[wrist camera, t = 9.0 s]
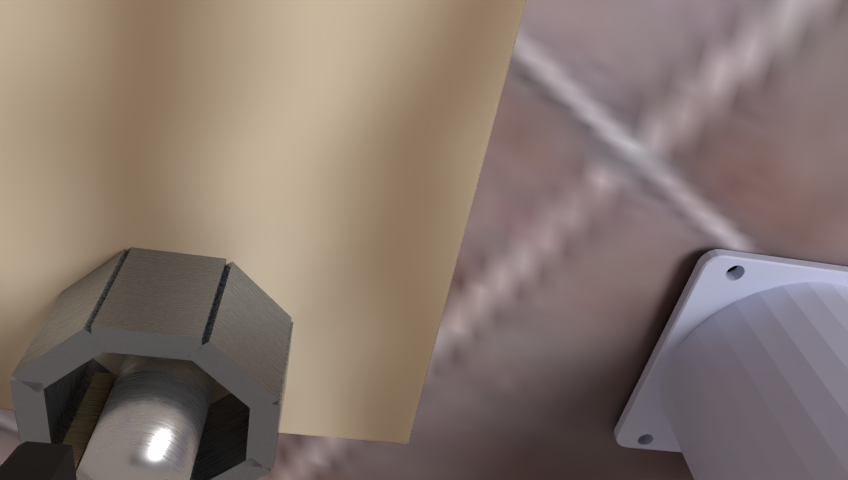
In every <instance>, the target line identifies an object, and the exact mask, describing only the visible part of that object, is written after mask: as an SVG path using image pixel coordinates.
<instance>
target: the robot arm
mask: <svg viewBox="0 0 848 480" xmlns="http://www.w3.org/2000/svg"><path fill="white" fill-rule="evenodd" d="M733 266H737V268H736V269H735V270H733V271H731V272H727V271H728V269H729V268H731V267H733ZM614 435H615V438H616V440H617V443H618V444H619V445H620V446H623V447H628V448H639V449H650V450H661V451H673V452H682V454H683V456H684V458H685V460H686V463H687V465H688V467H689V469H690V472H691V474H692V476H693V478H694V480H848V267H847V266H839V265H832V264H825V263H818V262H810V261H803V260H796V259H788V258H781V257H774V256H767V255H759V254H752V253H745V252H737V251H730V250H723V249H715V250H712V251H709V252H707V253H705V254H704V255H702V256H701V258H700V259H699V260H698V262H697V264H696V266H695V268H694V270H693V272H692V274H691V276H690V278H689V280H688V282H687V284H686V286H685V288H684V290H683V292H682V294H681V296H680V298H679V300H678V302H677V304H676V306H675V308H674V310H673V312H672V314H671V316H670V318H669V320H668V322H667V324H666V326H665V328H664V330H663V332H662V334H661V336H660V338H659V340H658V342H657V344H656V346H655V348H654V350H653V353H652V355H651V357H650V359H649V361H648V363H647V365H646V367H645V369H644V371H643V373H642V375H641V377H640V379H639V381H638V383H637V385H636V387H635V389H634V391H633V393H632V395H631V397H630V399H629V401H628V403H627V405H626V407H625V409H624V411H623V413H622V415H621V417H620V419H619V421H618V423H617V425H616V427H615V430H614ZM0 480H77V478H76V470H75V462H74V453H73V445H67V444H55V443H42V442H30V441H25V442H24V443H22V444H21V445H19V446H18V447H17V448H16V449H15V450H14V451H13V453H12V454H11V455H10V456H9V457H8V458H7V459H6V461H5V462H4V463H3V464H2V465H1V466H0Z"/></svg>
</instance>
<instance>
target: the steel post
mask: <svg viewBox="0 0 848 480" xmlns="http://www.w3.org/2000/svg"><path fill="white" fill-rule="evenodd" d="M215 383H216V380H215V379H214V378H213V377H211V376H210V375H209V374H208V373H206V372H205V371H204V370H203V369H202V368H200V367H199V366H198V365H197V364H195V363H194V362H193V361H190V360H180V359H170V358H160V357H150V356H140V355H130V354H126V357H125V359H124V361H123V364H122V366H121V368H120V371H119V373H118V375H117V376H116V374H110V373H99V372H96V373H95V375H94V377H93V379H92V381H91V383H90V386H89V388H88V390H87V392H86V394H85V396H84V398H83V401H82V403H81V405H80V407H79V409H78V411H77V413H76V416H75V418H74V420H73V422H72V424H71V426H70V428H69V431H68V433H67V435H66V437H65V439H64V441H63V443H62V444H67V445H73V453H74V462H75V470H76V478H77V480H190V477H191V473H192V470H193V466H194V462H195V458H196V454H197V451H198V447H199V443H200V439H201V436H202V432H203V428H204V424H205V420H206V417H207V413H208V409H209V405H210V401H211V398H212V394H213V390H214V386H215Z"/></svg>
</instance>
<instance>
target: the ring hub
mask: <svg viewBox="0 0 848 480" xmlns="http://www.w3.org/2000/svg"><path fill="white" fill-rule="evenodd" d="M292 330H293V322H291V316H290V315H288V314H287V313H286V312H285V311H284V310H283V309H282V308H281V307H280V306H279V305H278V304H277V303H276V302H275V301H274V300H273V299H272V298H271V297H270V296H268V295H267V294H266V293H265V292H264V291H263V290H262V289H261V288H260V287H259V286H258V285H257V284H256V283H255V282H254V281H253V280H252V279H251V278H250V277H248V276H247V275H246V274H245V273H244V272H243V271H242V270H241V269H240V268H239V267H238V266H237V265H236V264H235V263H234V262H231V263H230V264H228V265H226V259H225V258H217V257H209V256H201V255H192V254H184V253H176V252H168V251H159V250H151V249H143V248H135V247H132V248H131V250H130V251H128V250H126V249H124V250H122V251H121V252H119V253H118V254H116V255H115V256H113V257H112V258H111V259H109V260H108V261H106V262H105V263H103V264H102V265H100V266H99V267H97V268H96V269H94V270H93V271H92V272H90V273H89V274H87V275H86V276H84V277H83V278H81V279H80V280H78V281H77V282H75V283H74V284H73V285H71V286H70V287H68V288H67V289H65V290H64V291H62V292H61V294H60V296H59V297H58V299H57V301H56V302H55V304H54V306H53V307H52V309H51V310H50V312H49V314H48V315H47V317H46V319H45V320H44V322H43V324H42V325H41V327H40V329H39V330H38V332H37V334H36V335H35V337H34V339H33V340H32V342H31V344H30V345H29V347H28V349H27V350H26V352H25V354H24V355H23V357H22V359H21V360H20V362H19V364H18V365H17V367H16V368H15V370H14V372H13V373H12V376H11V378H10V380H9V382H10V387H11V393H12V399H13V404H14V410H15V415H16V421H17V427H18V432H19V438H20V443H21V444H22V443H24V442H25V441H30V442H42V443H55V444H62V443H63V441H64V439H65V437H66V435H67V433H68V431H69V428H70V426H71V424H72V422H73V420H74V418H75V416H76V413H77V411H78V409H79V407H80V405H81V403H82V401H83V398H84V396H85V394H86V392H87V390H88V388H89V386H90V383H91V381H92V379H93V377H94V375H95V373H96V372H99V373H110V374H113V373H112V372H111V371H109V370H108V369H106V368H105V367H104V366H102V365H101V364H100V363H98V362H97V361H96V360H94V359H93V357H95V356H97V355H98V354H100V353H101V352H110V353H120V354H130V355H140V356H150V357H160V358H170V359H180V360H190V361H193V362H194V363H195V364H197V365H198V366H199V367H200V368H202V369H203V370H204V371H205V372H206V373H208V374H209V375H210V376H211V377H213V378H214V379H215V380H216V381H218V382H219V383H220V384H221V385H222V386H224V387H225V388H226V389H227V390H229V391H230V392H231V393H230V394H228V395H226V396H225V397H223V398H221V399H219V400H218V401H216V402H214V403H210V405H209V409H208V413H207V417H206V420H205V424H204V428H203V432H202V436H201V439H200V443H199V447H198V451H197V454H196V458H195V462H194V466H193V470H192V473H191V477H190V480H256V479H258V478H260V477H262V476H263V475H265V474H267V473H269V472H270V471H271V468H274V461H275V454H276V448H277V441H278V434H279V428H280V421H281V414H282V408H283V401H284V394H285V388H286V380H287V372H288V364H289V355H290V347H291V338H292Z"/></svg>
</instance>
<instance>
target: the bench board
mask: <svg viewBox="0 0 848 480" xmlns="http://www.w3.org/2000/svg"><path fill="white" fill-rule="evenodd" d="M525 3H526V0H0V409H10V410H14V404H13V399H12V393H11V387H10V382H9V380H10V378H11V376H12V373H13V372H14V370H15V368H16V367H17V365H18V364H19V362H20V360H21V359H22V357H23V355H24V354H25V352H26V350H27V349H28V347H29V345H30V344H31V342H32V340H33V339H34V337H35V335H36V334H37V332H38V330H39V329H40V327H41V325H42V324H43V322H44V320H45V319H46V317H47V315H48V314H49V312H50V310H51V309H52V307H53V306H54V304H55V302H56V301H57V299H58V297H59V296H60V294H61V292H62V291H64V290H65V289H67V288H68V287H70V286H71V285H73V284H74V283H75V282H77V281H78V280H80V279H81V278H83V277H84V276H86V275H87V274H89V273H90V272H92V271H93V270H94V269H96V268H97V267H99V266H100V265H102V264H103V263H105V262H106V261H108V260H109V259H111V258H112V257H113V256H115V255H116V254H118V253H119V252H121V251H122V250H124V249H126V250H128V251H130V250H131V248H132V247H135V248H143V249H151V250H159V251H168V252H176V253H184V254H192V255H201V256H209V257H217V258H225V259H226V265H228V264H230V263H231V262H234V263H235V264H236V265H237V266H238V267H239V268H240V269H241V270H242V271H243V272H244V273H245V274H246V275H247V276H248V277H250V278H251V279H252V280H253V281H254V282H255V283H256V284H257V285H258V286H259V287H260V288H261V289H262V290H263V291H264V292H265V293H266V294H267V295H268V296H270V297H271V298H272V299H273V300H274V301H275V302H276V303H277V304H278V305H279V306H280V307H281V308H282V309H283V310H284V311H285V312H286V313H287V314H288V315H290V316H291V322H293V330H292V338H291V347H290V355H289V364H288V372H287V380H286V388H285V394H284V401H283V408H282V414H281V421H280V428H279V433H289V434H301V435H312V436H324V437H336V438H347V439H359V440H370V441H382V442H394V443H405V444H408V442H409V439H410V435H411V431H412V427H413V423H414V420H415V416H416V412H417V408H418V405H419V401H420V397H421V393H422V390H423V386H424V382H425V378H426V375H427V371H428V367H429V363H430V360H431V356H432V352H433V348H434V345H435V341H436V337H437V333H438V330H439V326H440V322H441V318H442V315H443V311H444V307H445V303H446V300H447V296H448V292H449V288H450V285H451V281H452V277H453V273H454V269H455V266H456V262H457V258H458V254H459V251H460V247H461V243H462V239H463V236H464V232H465V228H466V224H467V221H468V217H469V213H470V209H471V206H472V202H473V198H474V194H475V191H476V187H477V183H478V179H479V176H480V172H481V168H482V164H483V161H484V157H485V153H486V149H487V146H488V142H489V138H490V134H491V130H492V127H493V123H494V119H495V115H496V112H497V108H498V104H499V100H500V97H501V93H502V89H503V85H504V82H505V78H506V74H507V70H508V67H509V63H510V59H511V55H512V52H513V48H514V44H515V40H516V37H517V33H518V29H519V25H520V22H521V18H522V14H523V10H524V7H525ZM125 357H126V354H120V353H110V352H101V353H100V354H98V355H97V356H95V357H93V359H94V360H96V361H97V362H98V363H100V364H101V365H102V366H104V367H105V368H106V369H108V370H109V371H111V372H112V373H113V374H116V376H117V375H118V373H119V371H120V368H121V366H122V364H123V361H124V359H125ZM230 393H231V392H230V391H229V390H227V389H226V388H225V387H224V386H222V385H221V384H220V383H219V382H218V381H216V383H215V386H214V390H213V394H212V398H211V401H210V403H214V402H216V401H218V400H219V399H221V398H223V397H225V396H226V395H228V394H230Z"/></svg>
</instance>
